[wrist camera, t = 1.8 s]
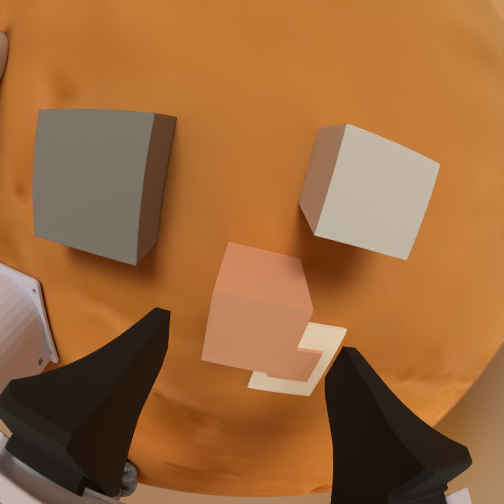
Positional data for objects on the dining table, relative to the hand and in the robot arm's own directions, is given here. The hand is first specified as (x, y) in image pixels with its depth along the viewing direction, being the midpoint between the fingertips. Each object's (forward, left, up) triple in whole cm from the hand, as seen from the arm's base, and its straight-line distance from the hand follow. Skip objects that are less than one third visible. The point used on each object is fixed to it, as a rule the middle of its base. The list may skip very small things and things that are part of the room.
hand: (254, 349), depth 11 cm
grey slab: (+4, +10, -6) cm, 12 cm away
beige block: (+7, -3, -6) cm, 9 cm away
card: (-6, -4, -6) cm, 9 cm away
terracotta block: (0, 0, -6) cm, 6 cm away
